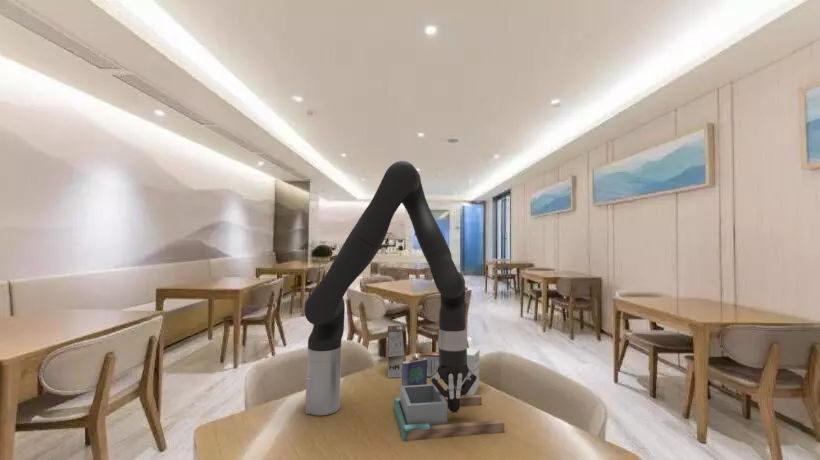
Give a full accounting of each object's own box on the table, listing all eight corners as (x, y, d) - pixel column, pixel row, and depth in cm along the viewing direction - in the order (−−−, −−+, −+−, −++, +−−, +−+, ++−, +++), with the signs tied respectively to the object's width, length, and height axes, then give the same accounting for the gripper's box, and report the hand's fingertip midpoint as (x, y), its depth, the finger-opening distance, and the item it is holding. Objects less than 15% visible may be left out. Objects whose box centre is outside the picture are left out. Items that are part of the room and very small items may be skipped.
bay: (403, 442, 83) (403, 428, 83) (394, 409, 100) (394, 398, 100) (504, 433, 88) (504, 420, 88) (479, 403, 104) (479, 392, 104)
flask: (404, 392, 111) (404, 358, 111) (399, 389, 114) (399, 355, 114) (428, 386, 116) (428, 353, 116) (423, 383, 118) (423, 351, 119)
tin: (459, 376, 125) (459, 352, 125) (459, 380, 122) (459, 355, 122) (416, 374, 126) (417, 350, 127) (416, 377, 123) (416, 353, 124)
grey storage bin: (407, 435, 86) (407, 405, 86) (400, 411, 98) (400, 386, 98) (447, 431, 88) (447, 403, 88) (435, 409, 99) (435, 383, 100)
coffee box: (406, 377, 123) (406, 331, 124) (387, 378, 123) (388, 331, 123) (403, 368, 133) (404, 325, 133) (386, 368, 132) (387, 325, 132)
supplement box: (450, 392, 112) (451, 351, 112) (457, 383, 118) (458, 345, 119) (473, 396, 108) (473, 355, 109) (479, 387, 115) (479, 348, 116)
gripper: (431, 351, 90) (433, 420, 89) (481, 348, 92) (482, 415, 92) (425, 343, 97) (426, 407, 97) (471, 340, 100) (472, 402, 99)
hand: (454, 411), depth 94 cm, fingers closed
